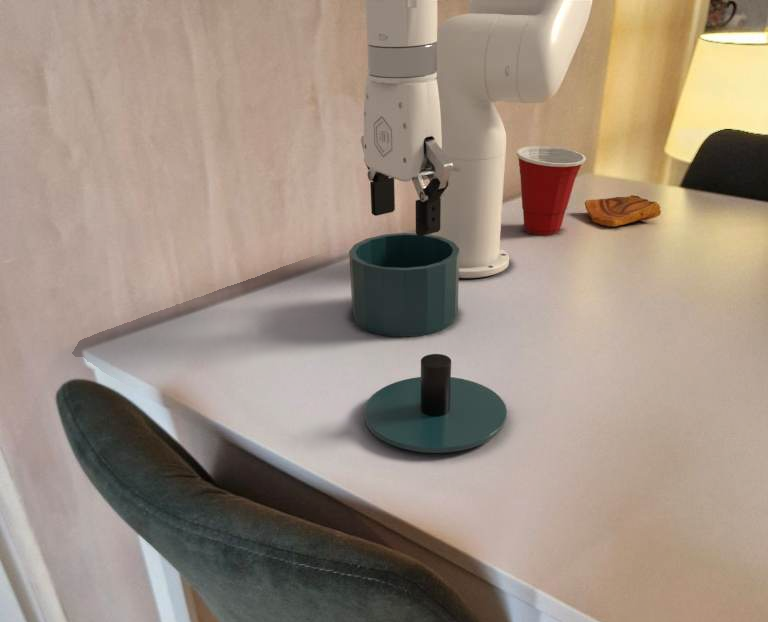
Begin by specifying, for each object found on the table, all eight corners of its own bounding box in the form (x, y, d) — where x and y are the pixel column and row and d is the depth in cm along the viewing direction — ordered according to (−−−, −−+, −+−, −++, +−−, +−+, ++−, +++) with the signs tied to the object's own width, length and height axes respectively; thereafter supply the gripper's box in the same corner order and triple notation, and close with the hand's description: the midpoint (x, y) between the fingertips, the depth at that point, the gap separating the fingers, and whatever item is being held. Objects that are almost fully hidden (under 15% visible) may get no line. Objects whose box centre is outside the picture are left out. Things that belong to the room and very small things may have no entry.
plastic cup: (577, 241, 121) (588, 160, 114) (509, 239, 123) (515, 159, 116) (576, 220, 130) (585, 144, 122) (511, 218, 131) (517, 143, 124)
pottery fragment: (665, 203, 126) (613, 199, 122) (656, 232, 128) (605, 229, 125) (631, 189, 133) (582, 186, 130) (623, 217, 136) (575, 214, 133)
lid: (339, 411, 81) (334, 353, 77) (449, 373, 87) (450, 318, 83) (417, 475, 71) (417, 413, 67) (535, 427, 77) (542, 368, 73)
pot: (334, 310, 102) (330, 247, 97) (417, 287, 108) (417, 226, 103) (390, 346, 93) (388, 278, 88) (477, 319, 99) (481, 253, 93)
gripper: (333, 58, 87) (342, 212, 98) (419, 76, 76) (420, 248, 86) (387, 51, 90) (391, 200, 101) (479, 67, 79) (472, 235, 89)
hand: (404, 222), depth 93 cm, fingers open, 9 cm apart
